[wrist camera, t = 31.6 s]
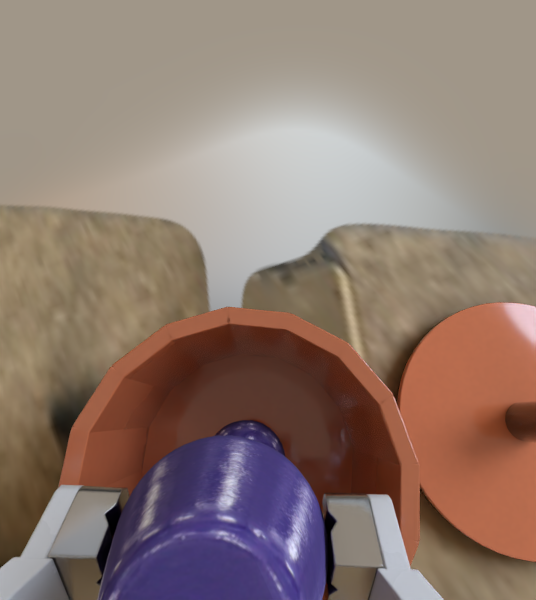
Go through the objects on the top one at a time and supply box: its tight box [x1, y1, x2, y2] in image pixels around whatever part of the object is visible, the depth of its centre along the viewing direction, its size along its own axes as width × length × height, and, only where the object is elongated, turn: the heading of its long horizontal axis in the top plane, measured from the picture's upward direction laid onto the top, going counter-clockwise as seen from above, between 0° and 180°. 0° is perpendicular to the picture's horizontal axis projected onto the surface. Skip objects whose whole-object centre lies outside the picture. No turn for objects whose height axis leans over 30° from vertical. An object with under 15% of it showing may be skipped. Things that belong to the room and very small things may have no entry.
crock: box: [58, 307, 420, 600], centre depth 21 cm, size 15×15×10 cm
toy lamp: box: [97, 420, 328, 600], centre depth 13 cm, size 5×5×17 cm
